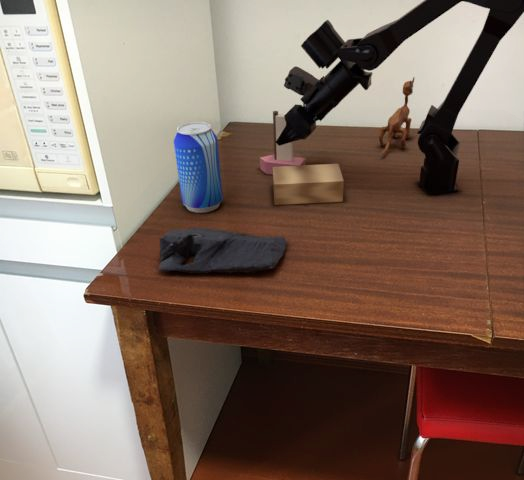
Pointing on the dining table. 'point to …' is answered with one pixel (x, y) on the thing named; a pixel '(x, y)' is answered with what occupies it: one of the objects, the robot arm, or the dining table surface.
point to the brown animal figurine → (398, 120)
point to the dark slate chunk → (219, 251)
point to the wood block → (307, 184)
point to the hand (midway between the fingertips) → (284, 136)
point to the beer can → (198, 167)
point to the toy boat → (280, 149)
